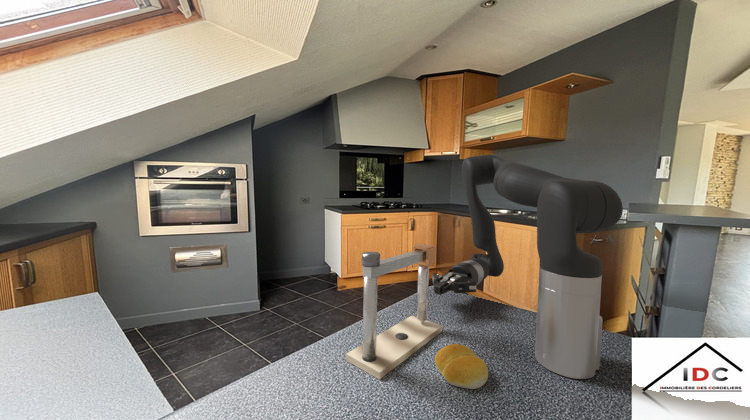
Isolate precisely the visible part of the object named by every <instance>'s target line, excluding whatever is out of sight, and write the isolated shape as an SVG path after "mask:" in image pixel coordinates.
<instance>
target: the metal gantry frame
mask: <svg viewBox="0 0 750 420" xmlns="http://www.w3.org/2000/svg"><path fill="white" fill-rule="evenodd" d="M425 260H426V250H423V249H420V250H416V251H413V250H412V251H410V252H405V253H402V254H398V255H394V256H391V257H388V258H383V259H381V253H380V252H377V251H364V252H362V253H361V267H362V277H363V304H362V305H363V310H362V311H363V315H362V316H363V317H362V319H363V320H362V321H363V322H362V326H363V327H362V336H363V337H362V344H363V359H364V360H366V361H373V360H375V359H376V339H377V335H378V334H377V332H378V331H377V330H378V329H377V327H378V326H377V324H378V277H380V276H383V275H386V274H389V273H392V272H395V271H398V270H401V269H404V268H408V267H410V266H413V265H415V264H416V263H419V262H422V261H425Z"/></svg>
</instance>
